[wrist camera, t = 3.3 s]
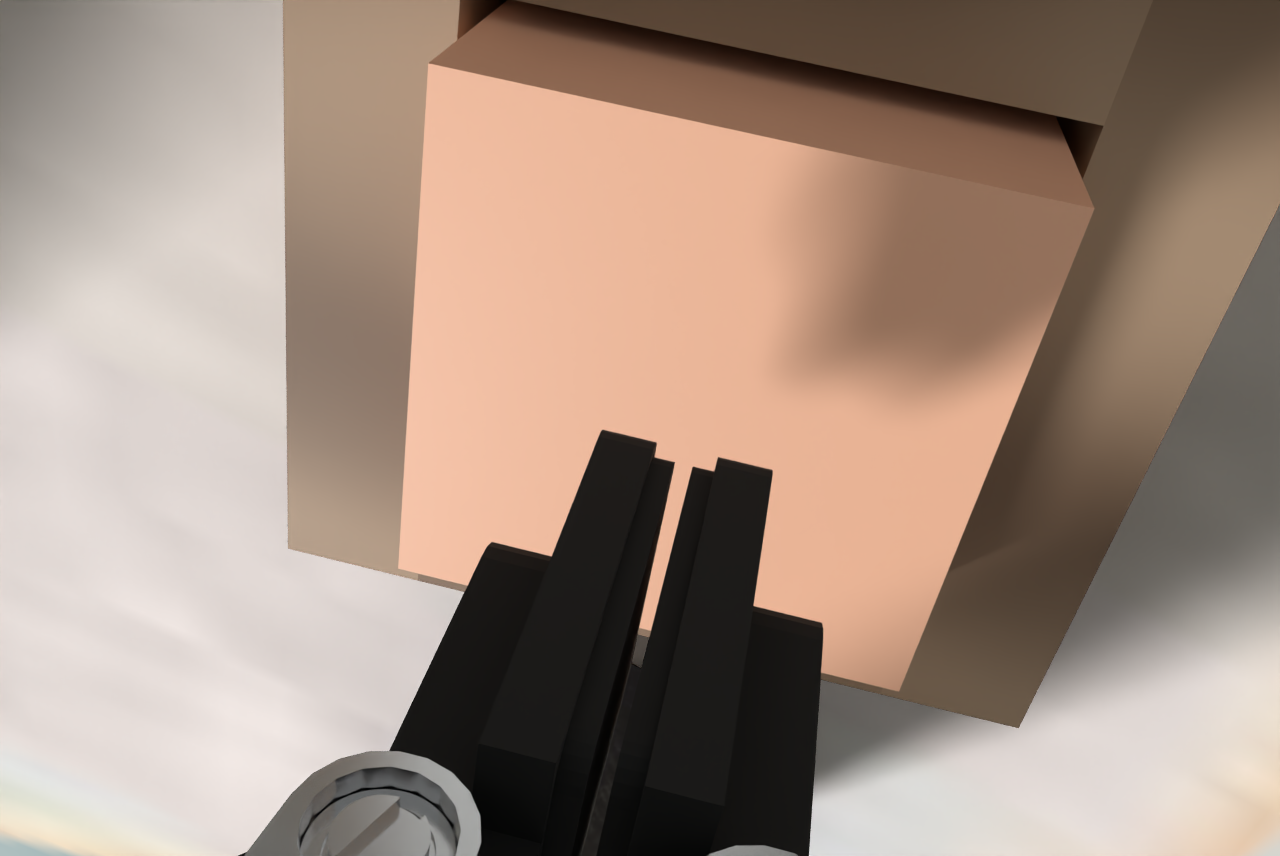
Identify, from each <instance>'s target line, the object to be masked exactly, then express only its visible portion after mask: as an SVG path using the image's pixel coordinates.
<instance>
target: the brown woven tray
mask: <svg viewBox="0 0 1280 856" xmlns="http://www.w3.org/2000/svg"><path fill="white" fill-rule="evenodd" d="M506 1H507V0H283V56H284V163H285V270H286V378H287V485H288V549H292V550H296V551H300V552H304V553H308V554H312V555H317V556H321V557H325V558H329V559H333V560H337V561H341V562H345V563H349V564H353V565H357V566H361V567H365V568H369V569H373V570H378V571H382V572H386V573H390V574H394V575H398V576H402V577H406V578H410V579H414V580H418V581H422V582H426V583H430V584H434V585H439V586H443V587H447V588H451V589H455V590H459V591H463V592H465V590H466V588H467V585H463V584H459V583H454V582H450V581H446V580H442V579H438V578H434V577H430V576H426V575H422V574H418V573H414V572H410V571H406V570H402V569H398V562H399V545H400V529H401V512H402V495H403V478H404V461H405V445H406V428H407V411H408V394H409V378H410V361H411V344H412V327H413V310H414V294H415V277H416V260H417V243H418V227H419V210H420V193H421V176H422V159H423V143H424V126H425V109H426V92H427V75H428V63H429V62H430V61H432V60H433V59H434V58H435V57H437V56H438V55H439V54H441V53H442V52H443V51H444V50H446V49H447V48H448V47H449V46H451V45H452V44H453V43H454V42H456V41H457V40H458V39H459V38H461V37H462V36H463V35H464V34H466V33H467V32H468V31H469V30H471V29H472V28H473V27H474V26H476V25H477V24H478V23H479V22H481V21H482V20H483V19H485V18H486V17H487V16H488V15H490V14H491V13H492V12H493V11H495V10H496V9H497V8H498V7H500V6H501V5H502V4H503V3H505V2H506ZM517 1H522V2H527V3H531V4H536V5H541V6H545V7H550V8H555V9H559V10H564V11H569V12H573V13H578V14H583V15H587V16H592V17H597V18H601V19H606V20H611V21H615V22H620V23H625V24H629V25H634V26H639V27H643V28H648V29H653V30H658V31H662V32H667V33H672V34H676V35H681V36H686V37H690V38H695V39H700V40H704V41H709V42H714V43H718V44H723V45H728V46H732V47H737V48H742V49H746V50H751V51H756V52H760V53H765V54H770V55H774V56H779V57H784V58H788V59H793V60H798V61H803V62H807V63H812V64H817V65H821V66H826V67H831V68H835V69H840V70H845V71H849V72H854V73H859V74H863V75H868V76H873V77H877V78H882V79H887V80H891V81H896V82H901V83H905V84H910V85H915V86H919V87H924V88H929V89H933V90H938V91H943V92H948V93H952V94H957V95H962V96H966V97H971V98H976V99H980V100H985V101H990V102H994V103H999V104H1004V105H1008V106H1013V107H1018V108H1022V109H1027V110H1032V111H1036V112H1041V113H1046V114H1050V115H1055V116H1056V118H1057V121H1058V123H1059V125H1060V128H1061V130H1062V133H1063V135H1064V137H1065V140H1066V142H1067V144H1068V147H1069V149H1070V151H1071V154H1072V156H1073V159H1074V161H1075V163H1076V166H1077V168H1078V170H1079V173H1080V175H1081V178H1082V180H1083V182H1084V185H1085V187H1086V189H1087V192H1088V194H1089V196H1090V199H1091V201H1092V204H1093V206H1094V208H1095V209H1094V211H1093V214H1092V216H1091V219H1090V221H1089V224H1088V226H1087V229H1086V231H1085V234H1084V236H1083V239H1082V241H1081V244H1080V246H1079V249H1078V251H1077V253H1076V256H1075V258H1074V261H1073V263H1072V266H1071V268H1070V271H1069V273H1068V276H1067V278H1066V281H1065V283H1064V286H1063V288H1062V290H1061V293H1060V295H1059V298H1058V300H1057V303H1056V305H1055V308H1054V310H1053V313H1052V315H1051V318H1050V320H1049V323H1048V325H1047V328H1046V330H1045V332H1044V335H1043V337H1042V340H1041V342H1040V345H1039V347H1038V350H1037V352H1036V355H1035V357H1034V360H1033V362H1032V365H1031V367H1030V369H1029V372H1028V374H1027V377H1026V379H1025V382H1024V384H1023V387H1022V389H1021V392H1020V394H1019V397H1018V399H1017V402H1016V404H1015V407H1014V409H1013V411H1012V414H1011V416H1010V419H1009V421H1008V424H1007V426H1006V429H1005V431H1004V434H1003V436H1002V439H1001V441H1000V444H999V446H998V448H997V451H996V453H995V456H994V458H993V461H992V463H991V466H990V468H989V471H988V473H987V476H986V478H985V481H984V483H983V486H982V488H981V490H980V493H979V495H978V498H977V500H976V503H975V505H974V508H973V510H972V513H971V515H970V518H969V520H968V523H967V525H966V527H965V530H964V532H963V535H962V537H961V540H960V542H959V545H958V547H957V550H956V552H955V555H954V557H953V560H952V562H951V565H950V567H949V569H948V572H947V574H946V577H945V579H944V582H943V584H942V587H941V589H940V592H939V594H938V597H937V599H936V602H935V604H934V606H933V609H932V611H931V614H930V616H929V619H928V621H927V624H926V626H925V629H924V631H923V634H922V636H921V639H920V641H919V644H918V646H917V648H916V651H915V653H914V656H913V658H912V661H911V663H910V666H909V668H908V671H907V673H906V676H905V678H904V681H903V683H902V685H901V688H900V690H899V692H898V691H894V690H890V689H886V688H882V687H878V686H874V685H870V684H866V683H862V682H858V681H854V680H849V679H845V678H841V677H837V676H833V675H829V674H825V673H821V680H825V681H829V682H833V683H837V684H841V685H845V686H849V687H853V688H857V689H861V690H865V691H870V692H874V693H878V694H882V695H886V696H890V697H894V698H898V699H902V700H906V701H910V702H914V703H918V704H922V705H926V706H931V707H935V708H939V709H943V710H947V711H951V712H955V713H959V714H963V715H967V716H971V717H975V718H979V719H983V720H987V721H992V722H996V723H1000V724H1004V725H1008V726H1012V727H1016V728H1019V726H1020V724H1021V722H1022V720H1023V718H1024V716H1025V714H1026V712H1027V710H1028V708H1029V706H1030V704H1031V702H1032V700H1033V698H1034V696H1035V694H1036V692H1037V690H1038V688H1039V686H1040V684H1041V682H1042V680H1043V678H1044V676H1045V674H1046V672H1047V670H1048V668H1049V666H1050V664H1051V662H1052V660H1053V658H1054V656H1055V654H1056V652H1057V650H1058V648H1059V646H1060V644H1061V642H1062V640H1063V638H1064V636H1065V634H1066V632H1067V630H1068V628H1069V626H1070V624H1071V622H1072V620H1073V618H1074V616H1075V614H1076V612H1077V610H1078V608H1079V606H1080V604H1081V602H1082V600H1083V598H1084V596H1085V594H1086V592H1087V590H1088V588H1089V586H1090V584H1091V582H1092V580H1093V578H1094V576H1095V574H1096V572H1097V570H1098V568H1099V566H1100V564H1101V562H1102V560H1103V558H1104V556H1105V554H1106V552H1107V550H1108V548H1109V546H1110V544H1111V542H1112V540H1113V538H1114V536H1115V534H1116V532H1117V530H1118V528H1119V526H1120V524H1121V522H1122V520H1123V518H1124V516H1125V514H1126V512H1127V510H1128V508H1129V506H1130V504H1131V502H1132V500H1133V498H1134V496H1135V494H1136V492H1137V490H1138V488H1139V486H1140V484H1141V482H1142V480H1143V478H1144V476H1145V474H1146V472H1147V470H1148V468H1149V466H1150V464H1151V461H1152V459H1153V457H1154V455H1155V453H1156V451H1157V449H1158V447H1159V445H1160V443H1161V441H1162V439H1163V437H1164V435H1165V433H1166V431H1167V429H1168V427H1169V425H1170V423H1171V421H1172V419H1173V417H1174V415H1175V413H1176V411H1177V409H1178V407H1179V405H1180V403H1181V401H1182V399H1183V397H1184V395H1185V393H1186V391H1187V389H1188V387H1189V385H1190V383H1191V381H1192V379H1193V377H1194V375H1195V373H1196V371H1197V369H1198V367H1199V365H1200V363H1201V361H1202V359H1203V357H1204V355H1205V353H1206V351H1207V349H1208V347H1209V345H1210V343H1211V341H1212V339H1213V337H1214V335H1215V333H1216V331H1217V329H1218V327H1219V325H1220V323H1221V321H1222V319H1223V317H1224V315H1225V313H1226V311H1227V309H1228V307H1229V305H1230V303H1231V301H1232V299H1233V297H1234V295H1235V293H1236V291H1237V289H1238V287H1239V285H1240V283H1241V281H1242V279H1243V277H1244V275H1245V273H1246V271H1247V269H1248V267H1249V265H1250V263H1251V261H1252V259H1253V257H1254V255H1255V253H1256V251H1257V249H1258V247H1259V245H1260V243H1261V241H1262V239H1263V237H1264V235H1265V233H1266V231H1267V229H1268V227H1269V225H1270V223H1271V221H1272V219H1273V217H1274V215H1275V213H1276V211H1277V209H1278V207H1279V205H1280V0H517ZM650 633H651V631H650V630H646V629H642V628H639V631H638V635H642V636H646V637H650Z"/></svg>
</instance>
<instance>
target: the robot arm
mask: <svg viewBox="0 0 1280 856" xmlns="http://www.w3.org/2000/svg"><path fill="white" fill-rule="evenodd" d="M656 447H657V442H653V441H649V440H645V439H640V438H636V437H632V436H628V435H624V434H619V433H615V432H611V431H607V430H602V431H601V432H600V435H599V437H598V439H597V442H596V444H595V447H594V450H593V452H592V455H591V457H590V460H589V462H588V465H587V467H586V470H585V473H584V475H583V478H582V480H581V483H580V485H579V488H578V490H577V493H576V496H575V498H574V501H573V503H572V506H571V508H570V511H569V513H568V516H567V518H566V521H565V524H564V526H563V529H562V531H561V534H560V536H559V539H558V541H557V544H556V547H555V549H554V552H553V554H552V556H548V555H544V554H540V553H536V552H532V551H528V550H523V549H519V548H515V547H511V546H507V545H503V544H499V543H495V542H491V543H490V544H489V545H488V546H487V547H486V549H485V551H484V553H483V555H482V556H481V558H480V560H479V563H478V565H477V567H476V569H475V571H474V573H473V575H472V577H471V580H470V582H469V584H468V586H467V588H466V590H465V592H464V594H463V596H462V599H461V601H460V603H459V605H458V607H457V609H456V611H455V613H454V615H453V618H452V620H451V622H450V624H449V626H448V628H447V630H446V632H445V634H444V637H443V639H442V641H441V643H440V645H439V647H438V649H437V651H436V653H435V656H434V658H433V660H432V662H431V664H430V666H429V668H428V670H427V672H426V675H425V677H424V679H423V681H422V683H421V685H420V687H419V689H418V691H417V694H416V696H415V698H414V700H413V702H412V704H411V706H410V708H409V710H408V713H407V715H406V717H405V719H404V721H403V723H402V725H401V727H400V729H399V732H398V734H397V736H396V738H395V740H394V742H393V744H392V746H391V748H390V751H369V752H365V753H361V754H357V755H353V756H349V757H345V758H341V759H338V760H336V761H335V762H333V763H331V764H329V765H327V766H325V767H324V768H322V769H320V770H318V771H316V772H314V773H313V774H311V775H310V776H309V777H308V778H307V779H306V780H305V781H304V782H303V783H302V784H301V785H300V786H299V787H298V788H297V789H296V790H295V791H294V792H293V793H292V794H291V795H290V796H289V798H288V799H287V800H286V802H285V803H284V804H283V806H282V807H281V808H280V810H279V811H278V812H277V813H276V815H275V816H274V817H273V819H272V820H271V821H270V823H269V824H268V825H267V827H266V828H265V829H264V831H263V832H262V833H261V834H260V836H259V837H258V838H257V840H256V841H255V842H254V844H253V845H252V846H251V848H250V849H249V850H248V851H247V852H246V853H243V854H241V855H239V856H581V854H582V851H583V847H584V843H585V839H586V836H587V832H588V828H589V824H590V820H591V817H592V813H593V809H594V805H595V801H596V798H597V794H598V790H599V786H600V783H601V779H602V775H603V771H604V767H605V764H606V760H607V756H608V752H609V749H610V745H611V741H612V737H613V733H614V730H615V726H616V722H617V718H618V714H619V711H620V707H621V703H622V699H623V696H624V692H625V688H626V684H627V679H628V675H629V671H630V667H631V662H632V658H633V653H634V649H635V644H636V640H637V635H638V631H639V626H640V621H641V617H642V612H643V608H644V603H645V599H646V594H647V589H648V585H649V580H650V576H651V571H652V567H653V562H654V557H655V553H656V548H657V544H658V539H659V535H660V530H661V525H662V521H663V516H664V512H665V507H666V503H667V498H668V493H669V489H670V484H671V480H672V475H673V470H674V465H675V462H672V461H668V460H664V459H660V458H655V453H656ZM772 476H773V470H771V469H767V468H762V467H758V466H754V465H750V464H746V463H741V462H737V461H733V460H729V459H725V458H720V457H718V459H717V462H716V466H715V470H714V471H710V470H706V469H702V468H697V467H692V471H691V475H690V479H689V483H688V487H687V490H686V494H685V498H684V502H683V506H682V510H681V514H680V518H679V522H678V526H677V530H676V534H675V538H674V542H673V546H672V550H671V554H670V558H669V562H668V565H667V569H666V573H665V577H664V581H663V585H662V589H661V593H660V597H659V601H658V605H657V609H656V613H655V617H654V621H653V625H652V629H651V633H650V637H649V640H648V644H647V648H646V652H645V656H644V660H643V664H642V668H641V672H640V676H639V680H638V684H637V688H636V692H635V696H634V700H633V704H632V708H631V712H630V715H629V719H628V723H627V727H626V731H625V735H624V739H623V743H622V747H621V751H620V755H619V759H618V763H617V767H616V772H615V776H614V780H613V784H612V788H611V793H610V797H609V801H608V806H607V810H606V815H605V819H604V824H603V828H602V833H601V837H600V841H599V846H598V850H597V855H596V856H809V844H810V829H811V814H812V800H813V785H814V770H815V755H816V740H817V725H818V711H819V696H820V681H821V666H822V651H823V625H822V623H821V622H817V621H813V620H809V619H805V618H801V617H797V616H793V615H788V614H784V613H780V612H776V611H772V610H768V609H764V608H760V607H756V606H754V599H755V592H756V585H757V578H758V572H759V565H760V558H761V551H762V544H763V538H764V531H765V524H766V517H767V510H768V504H769V497H770V490H771V483H772Z"/></svg>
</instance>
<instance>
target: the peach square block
mask: <svg viewBox="0 0 1280 856" xmlns="http://www.w3.org/2000/svg"><path fill="white" fill-rule="evenodd" d="M1094 209H1095V208H1094V206H1093V204H1092V201H1091V199H1090V196H1089V194H1088V192H1087V189H1086V187H1085V185H1084V182H1083V180H1082V178H1081V175H1080V173H1079V170H1078V168H1077V166H1076V163H1075V161H1074V159H1073V156H1072V154H1071V151H1070V149H1069V147H1068V144H1067V142H1066V140H1065V137H1064V135H1063V133H1062V130H1061V128H1060V125H1059V123H1058V121H1057V118H1056V116H1055V115H1050V114H1046V113H1041V112H1036V111H1032V110H1027V109H1022V108H1018V107H1013V106H1008V105H1004V104H999V103H994V102H990V101H985V100H980V99H976V98H971V97H966V96H962V95H957V94H952V93H948V92H943V91H938V90H933V89H929V88H924V87H919V86H915V85H910V84H905V83H901V82H896V81H891V80H887V79H882V78H877V77H873V76H868V75H863V74H859V73H854V72H849V71H845V70H840V69H835V68H831V67H826V66H821V65H817V64H812V63H807V62H803V61H798V60H793V59H788V58H784V57H779V56H774V55H770V54H765V53H760V52H756V51H751V50H746V49H742V48H737V47H732V46H728V45H723V44H718V43H714V42H709V41H704V40H700V39H695V38H690V37H686V36H681V35H676V34H672V33H667V32H662V31H658V30H653V29H648V28H643V27H639V26H634V25H629V24H625V23H620V22H615V21H611V20H606V19H601V18H597V17H592V16H587V15H583V14H578V13H573V12H569V11H564V10H559V9H555V8H550V7H545V6H541V5H536V4H531V3H527V2H522V1H517V0H507V1H506V2H505V3H503V4H502V5H501V6H500V7H498V8H497V9H496V10H495V11H493V12H492V13H491V14H490V15H488V16H487V17H486V18H485V19H483V20H482V21H481V22H479V23H478V24H477V25H476V26H474V27H473V28H472V29H471V30H469V31H468V32H467V33H466V34H464V35H463V36H462V37H461V38H459V39H458V40H457V41H456V42H454V43H453V44H452V45H451V46H449V47H448V48H447V49H446V50H444V51H443V52H442V53H441V54H439V55H438V56H437V57H435V58H434V59H433V60H432V61H430V62H429V63H428V75H427V92H426V109H425V126H424V143H423V159H422V176H421V193H420V210H419V227H418V243H417V260H416V277H415V294H414V310H413V327H412V344H411V361H410V378H409V394H408V411H407V428H406V445H405V461H404V478H403V495H402V512H401V529H400V545H399V562H398V569H402V570H406V571H410V572H414V573H418V574H422V575H426V576H430V577H434V578H438V579H442V580H446V581H450V582H454V583H459V584H463V585H467V586H468V584H469V582H470V580H471V577H472V575H473V573H474V571H475V569H476V567H477V565H478V563H479V560H480V558H481V556H482V555H483V553H484V551H485V549H486V547H487V546H488V545H489V544H490V543H491V542H495V543H499V544H503V545H507V546H511V547H515V548H519V549H523V550H528V551H532V552H536V553H540V554H544V555H548V556H552V554H553V552H554V549H555V547H556V544H557V541H558V539H559V536H560V534H561V531H562V529H563V526H564V524H565V521H566V518H567V516H568V513H569V511H570V508H571V506H572V503H573V501H574V498H575V496H576V493H577V490H578V488H579V485H580V483H581V480H582V478H583V475H584V473H585V470H586V467H587V465H588V462H589V460H590V457H591V455H592V452H593V450H594V447H595V444H596V442H597V439H598V437H599V435H600V432H601V431H602V430H607V431H611V432H615V433H619V434H624V435H628V436H632V437H636V438H640V439H645V440H649V441H653V442H657V447H656V453H655V458H660V459H664V460H668V461H672V462H675V465H674V470H673V475H672V480H671V484H670V489H669V493H668V498H667V503H666V507H665V512H664V516H663V521H662V525H661V530H660V535H659V539H658V544H657V548H656V553H655V557H654V562H653V567H652V571H651V576H650V580H649V585H648V589H647V594H646V599H645V603H644V608H643V612H642V617H641V621H640V626H639V628H642V629H646V630H650V631H651V629H652V625H653V621H654V617H655V613H656V609H657V605H658V601H659V597H660V593H661V589H662V585H663V581H664V577H665V573H666V569H667V565H668V562H669V558H670V554H671V550H672V546H673V542H674V538H675V534H676V530H677V526H678V522H679V518H680V514H681V510H682V506H683V502H684V498H685V494H686V490H687V487H688V483H689V479H690V475H691V471H692V467H697V468H702V469H706V470H710V471H714V470H715V466H716V462H717V459H718V457H720V458H725V459H729V460H733V461H737V462H741V463H746V464H750V465H754V466H758V467H762V468H767V469H771V470H773V476H772V483H771V490H770V497H769V504H768V510H767V517H766V524H765V531H764V538H763V544H762V551H761V558H760V565H759V572H758V578H757V585H756V592H755V599H754V606H756V607H760V608H764V609H768V610H772V611H776V612H780V613H784V614H788V615H793V616H797V617H801V618H805V619H809V620H813V621H817V622H821V623H822V625H823V651H822V666H821V673H825V674H829V675H833V676H837V677H841V678H845V679H849V680H854V681H858V682H862V683H866V684H870V685H874V686H878V687H882V688H886V689H890V690H894V691H898V692H899V690H900V688H901V685H902V683H903V681H904V678H905V676H906V673H907V671H908V668H909V666H910V663H911V661H912V658H913V656H914V653H915V651H916V648H917V646H918V644H919V641H920V639H921V636H922V634H923V631H924V629H925V626H926V624H927V621H928V619H929V616H930V614H931V611H932V609H933V606H934V604H935V602H936V599H937V597H938V594H939V592H940V589H941V587H942V584H943V582H944V579H945V577H946V574H947V572H948V569H949V567H950V565H951V562H952V560H953V557H954V555H955V552H956V550H957V547H958V545H959V542H960V540H961V537H962V535H963V532H964V530H965V527H966V525H967V523H968V520H969V518H970V515H971V513H972V510H973V508H974V505H975V503H976V500H977V498H978V495H979V493H980V490H981V488H982V486H983V483H984V481H985V478H986V476H987V473H988V471H989V468H990V466H991V463H992V461H993V458H994V456H995V453H996V451H997V448H998V446H999V444H1000V441H1001V439H1002V436H1003V434H1004V431H1005V429H1006V426H1007V424H1008V421H1009V419H1010V416H1011V414H1012V411H1013V409H1014V407H1015V404H1016V402H1017V399H1018V397H1019V394H1020V392H1021V389H1022V387H1023V384H1024V382H1025V379H1026V377H1027V374H1028V372H1029V369H1030V367H1031V365H1032V362H1033V360H1034V357H1035V355H1036V352H1037V350H1038V347H1039V345H1040V342H1041V340H1042V337H1043V335H1044V332H1045V330H1046V328H1047V325H1048V323H1049V320H1050V318H1051V315H1052V313H1053V310H1054V308H1055V305H1056V303H1057V300H1058V298H1059V295H1060V293H1061V290H1062V288H1063V286H1064V283H1065V281H1066V278H1067V276H1068V273H1069V271H1070V268H1071V266H1072V263H1073V261H1074V258H1075V256H1076V253H1077V251H1078V249H1079V246H1080V244H1081V241H1082V239H1083V236H1084V234H1085V231H1086V229H1087V226H1088V224H1089V221H1090V219H1091V216H1092V214H1093V211H1094Z"/></svg>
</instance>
